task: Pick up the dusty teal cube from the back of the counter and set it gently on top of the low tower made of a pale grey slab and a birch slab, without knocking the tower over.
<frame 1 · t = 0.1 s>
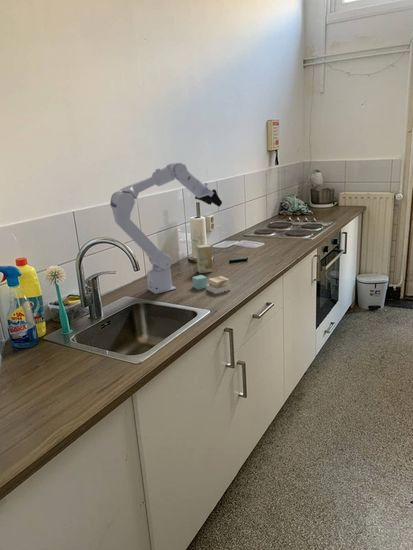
hand: (215, 203, 176), 32 cm above the worktop, tool tilted 50°, fingers open, 7 cm apart
tower base: (218, 290, 167), on the worktop
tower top: (219, 285, 167), point 2 cm above the worktop
teal cube: (200, 287, 172), on the worktop
skincare box: (205, 271, 193), on the worktop
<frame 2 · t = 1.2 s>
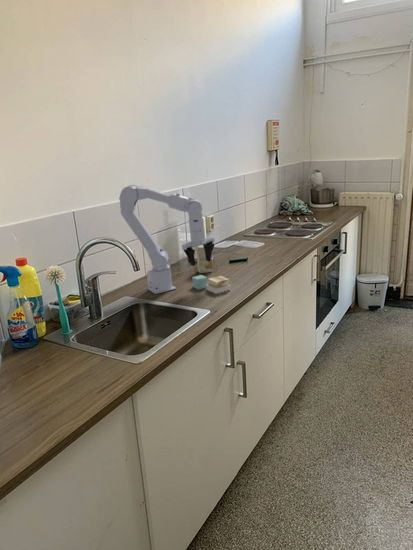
hand: (200, 263, 169), 10 cm above the worktop, tool pointing down, fingers open, 7 cm apart
tower base: (218, 290, 167), on the worktop, touching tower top
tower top: (218, 284, 167), point 2 cm above the worktop, touching tower base
everything else where it was.
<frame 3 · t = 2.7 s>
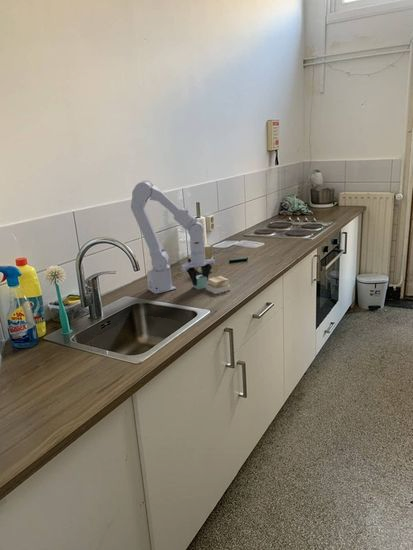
hand: (200, 283, 172), 1 cm above the worktop, tool pointing down, fingers closed on teal cube, 4 cm apart
teal cube: (200, 287, 172), on the worktop, touching gripper
everything else where it was.
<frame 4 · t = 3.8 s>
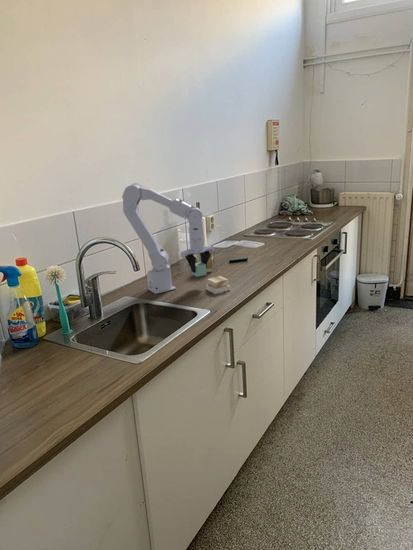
hand: (198, 270, 170), 7 cm above the worktop, tool pointing down, fingers closed on teal cube, 4 cm apart
tower base: (218, 291, 167), on the worktop
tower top: (218, 285, 167), point 2 cm above the worktop
teal cube: (199, 274, 170), point 5 cm above the worktop, touching gripper
everything else where it was.
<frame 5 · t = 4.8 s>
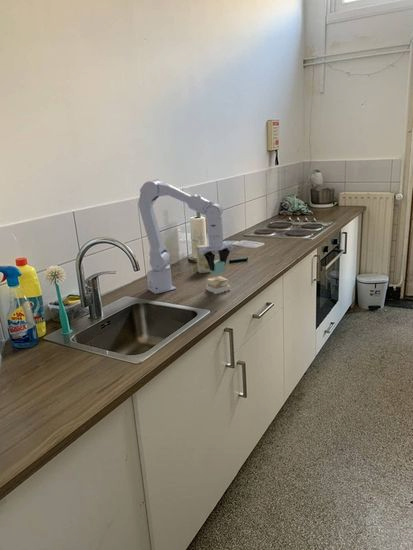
hand: (217, 268, 165), 9 cm above the worktop, tool pointing down, fingers closed on teal cube, 4 cm apart
teal cube: (217, 272, 165), point 7 cm above the worktop, touching gripper
everything else where it was.
when the fingers open (7 cm above the worktop, at t = 5.5 s): teal cube drops 1 cm, resting on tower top.
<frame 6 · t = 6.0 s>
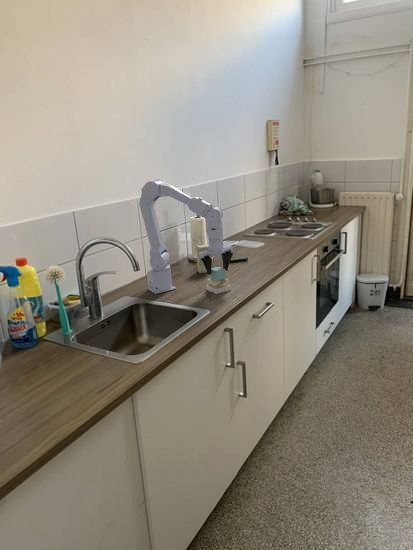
hand: (217, 272, 165), 7 cm above the worktop, tool pointing down, fingers open, 7 cm apart
tower base: (218, 291, 167), on the worktop, touching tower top
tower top: (218, 285, 166), point 2 cm above the worktop, touching teal cube, tower base
teal cube: (218, 279, 166), point 4 cm above the worktop, touching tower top
everything else where it was.
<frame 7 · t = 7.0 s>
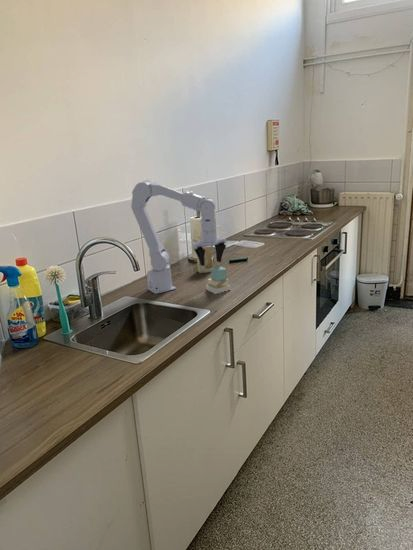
hand: (210, 263, 167), 10 cm above the worktop, tool pointing down, fingers open, 7 cm apart
nothing on the worktop moved.
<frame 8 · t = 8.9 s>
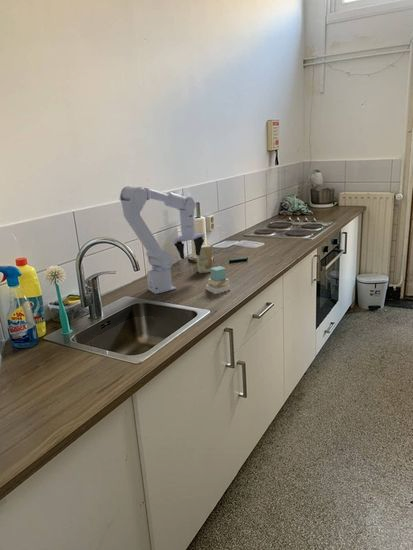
hand: (190, 256, 179), 10 cm above the worktop, tool pointing down, fingers open, 7 cm apart
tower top: (218, 285, 167), point 2 cm above the worktop, touching tower base
teal cube: (218, 278, 166), point 4 cm above the worktop
everything else where it was.
at the end: teal cube 0.4 cm off-centre on the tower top, point 2.5 cm above the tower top's base; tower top 0.3 cm off-centre on the tower base, point 2.5 cm above the tower base's base; the gripper is holding nothing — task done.
